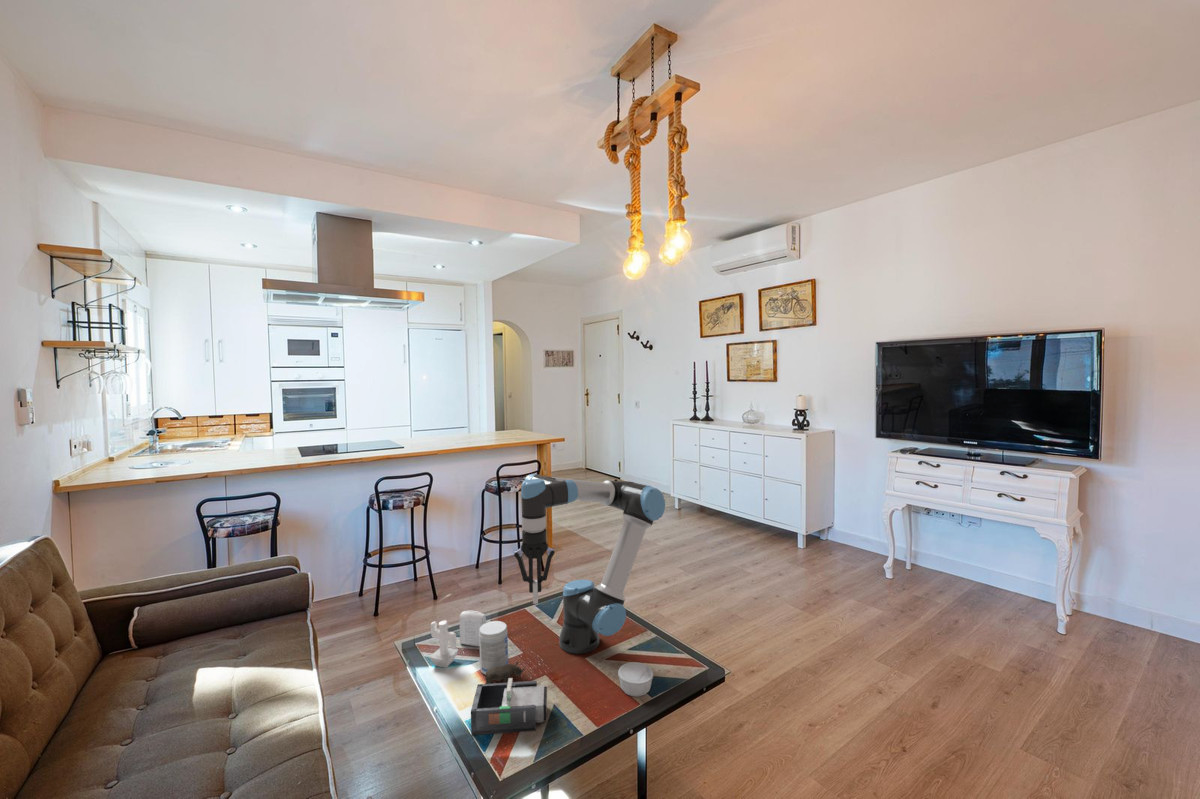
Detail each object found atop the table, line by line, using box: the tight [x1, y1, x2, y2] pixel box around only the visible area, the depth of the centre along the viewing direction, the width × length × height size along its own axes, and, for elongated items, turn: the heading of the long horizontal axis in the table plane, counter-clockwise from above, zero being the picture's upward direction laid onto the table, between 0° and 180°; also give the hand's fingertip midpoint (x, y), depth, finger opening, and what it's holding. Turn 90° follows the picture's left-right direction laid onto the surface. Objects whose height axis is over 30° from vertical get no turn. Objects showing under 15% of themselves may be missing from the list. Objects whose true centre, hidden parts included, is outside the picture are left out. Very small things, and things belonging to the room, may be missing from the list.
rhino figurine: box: [484, 661, 526, 684], centre depth 162 cm, size 4×14×6 cm, turn 116°
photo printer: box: [459, 610, 487, 647], centre depth 185 cm, size 10×4×12 cm, turn 76°
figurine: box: [428, 619, 460, 669], centre depth 173 cm, size 7×9×15 cm
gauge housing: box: [470, 680, 538, 736], centre depth 145 cm, size 18×12×7 cm
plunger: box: [502, 677, 548, 723], centre depth 146 cm, size 13×9×9 cm
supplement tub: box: [479, 620, 509, 676], centre depth 169 cm, size 10×10×15 cm
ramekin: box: [617, 661, 654, 697], centre depth 159 cm, size 11×11×5 cm
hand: (535, 601), depth 156 cm, fingers closed
